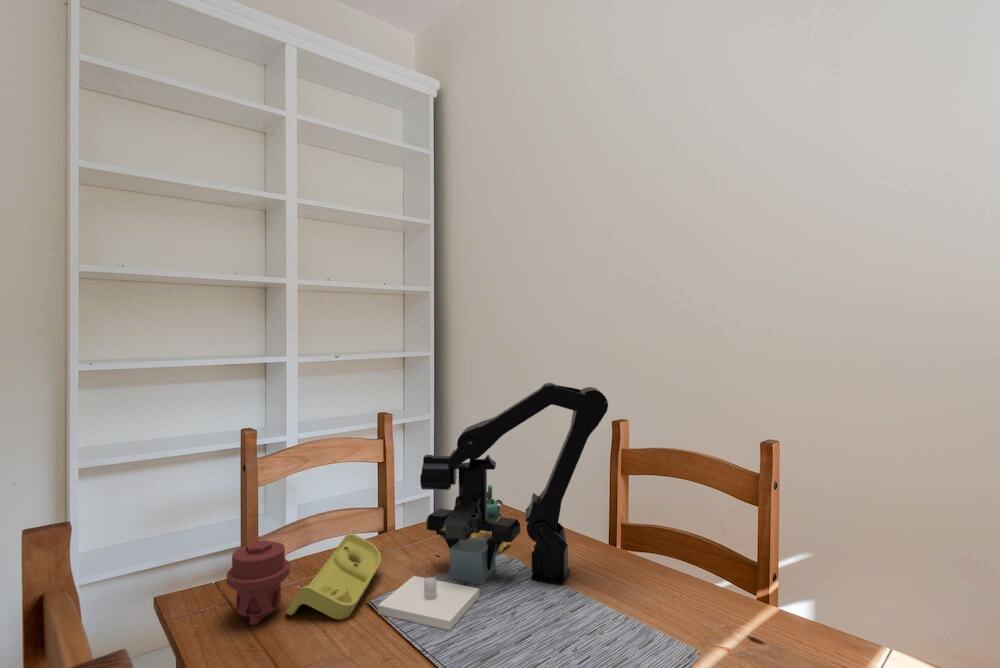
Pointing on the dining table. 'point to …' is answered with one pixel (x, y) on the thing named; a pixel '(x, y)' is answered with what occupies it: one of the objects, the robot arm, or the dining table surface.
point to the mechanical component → (258, 578)
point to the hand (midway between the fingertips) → (472, 566)
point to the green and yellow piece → (491, 519)
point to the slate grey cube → (470, 561)
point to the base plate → (429, 602)
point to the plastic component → (341, 579)
